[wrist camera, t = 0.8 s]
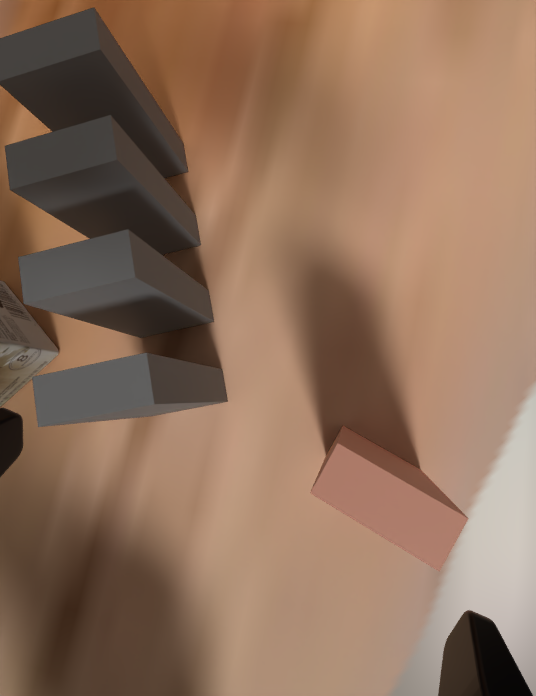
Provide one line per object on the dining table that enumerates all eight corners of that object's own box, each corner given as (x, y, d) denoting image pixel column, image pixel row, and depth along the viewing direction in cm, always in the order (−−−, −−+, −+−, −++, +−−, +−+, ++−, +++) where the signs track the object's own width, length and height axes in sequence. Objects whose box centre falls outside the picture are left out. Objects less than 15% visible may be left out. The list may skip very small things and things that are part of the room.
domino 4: (227, 401, 26) (154, 404, 16) (152, 415, 27) (37, 426, 17) (222, 369, 26) (146, 352, 17) (147, 384, 27) (32, 376, 17)
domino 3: (214, 321, 27) (135, 277, 17) (140, 337, 27) (23, 303, 18) (208, 290, 27) (128, 229, 17) (135, 307, 28) (17, 257, 18)
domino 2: (200, 244, 27) (117, 159, 18) (129, 262, 28) (9, 189, 18) (195, 215, 28) (110, 114, 18) (124, 233, 28) (4, 145, 18)
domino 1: (188, 171, 28) (100, 49, 18) (118, 190, 29) (-3, 81, 19) (183, 143, 28) (94, 7, 18) (114, 162, 29) (-8, 40, 19)
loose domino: (403, 501, 24) (439, 571, 14) (326, 455, 25) (310, 493, 15) (420, 469, 24) (468, 518, 14) (342, 425, 25) (337, 443, 15)
